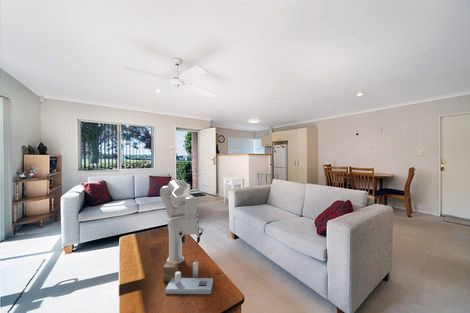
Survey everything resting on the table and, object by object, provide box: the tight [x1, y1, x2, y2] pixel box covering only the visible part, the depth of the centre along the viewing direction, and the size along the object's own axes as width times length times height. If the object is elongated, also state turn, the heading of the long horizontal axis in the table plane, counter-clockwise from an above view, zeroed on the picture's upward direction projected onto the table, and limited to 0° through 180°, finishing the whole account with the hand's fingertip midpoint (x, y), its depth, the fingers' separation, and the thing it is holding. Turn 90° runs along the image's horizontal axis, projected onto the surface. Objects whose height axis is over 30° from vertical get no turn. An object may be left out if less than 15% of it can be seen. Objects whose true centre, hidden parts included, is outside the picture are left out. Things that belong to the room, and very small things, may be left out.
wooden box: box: [162, 260, 179, 282], centre depth 118 cm, size 7×7×9 cm
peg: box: [192, 260, 199, 278], centre depth 118 cm, size 3×3×10 cm
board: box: [164, 271, 214, 295], centre depth 109 cm, size 10×26×8 cm, turn 90°
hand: (190, 242), depth 118 cm, fingers open, 9 cm apart
